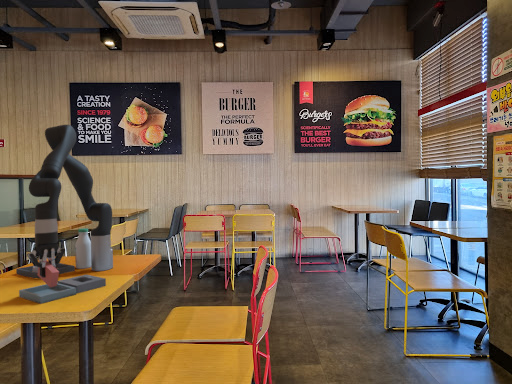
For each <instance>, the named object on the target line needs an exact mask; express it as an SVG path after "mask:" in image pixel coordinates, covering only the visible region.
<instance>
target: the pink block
mask: <svg viewBox="0 0 512 384" xmlns="http://www.w3.org/2000/svg"><path fill="white" fill-rule="evenodd" d="M57 269H58V268H55V267H54V266H53V265H51V264H50V263H49V262H48V259H47V260H46V265H45V278H43V277H41V276H40V268H39V269H38V274H37V275H38V276H39V277H40V278H39V279H40V280H42V281H43V282H44V284H47V285H48V286H49V287H54V286H57V283H58V281H59V275H60V274H59V271H58V270H57Z"/></svg>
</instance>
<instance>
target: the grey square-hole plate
mask: <svg viewBox="0 0 512 384" xmlns="http://www.w3.org/2000/svg"><path fill="white" fill-rule="evenodd" d="M106 279H107V278H104V277H100V276H95V275H91V274H83V275H79V276H78V275H77V276H72V277H69V278H65V279H61V280H58V282H57V283H59V284H63V285H67V286H71V287H75V288H76V294H80V293H85V292H87V291H91V290H94V289H95V290H96V289H100V288H103V287H106V286H107V284H106V283H107V282H106V281H107V280H106Z"/></svg>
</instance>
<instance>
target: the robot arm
mask: <svg viewBox="0 0 512 384" xmlns="http://www.w3.org/2000/svg"><path fill="white" fill-rule="evenodd" d="M44 137H45V140H46V142H47V143H48V146H49V147H50V149H51V151H50V153H48V155H46V157H45V158H44V160H43V163H42V164H41V168H40V169H39V171H38V172H37V173H36V174H35V175H34V176H33V177H32V178H31V180H30V182H29V183H28V191H29V194H30V195H31V196H32V197H35V198H48V199H47V201H46V202H41V203H38V204H36V205H35V207H34V213H35V214H34V215H35V216H34V217H35V218H34V220H35V221H34V244H35V246H34V248H33V250H32V251H31V252H27V253H26V256H27V257H28V259H29V261H30V262H31V264H32V266H33V265H34V266H36V267H39V268H40V276H41V277H43V278H45V265H46V260H47V261H48V262H49V263H50V264H51V265H53V266H55V265H56V264H57V263H60V262H61V260H62V258H63V256H64V254H65V253H66V249H65V248H62V247H60V246H59V237H58V236H59V235H58V234H59V233H58V230H59V226H58V219H57V218H58V217H57V214H58V213H57V207H58V202H59V198H60V196H61V191H62V183H61V181H60V180H59V178H60V177H61V173H62V170H63V169H64V171H65V173H66V176H67V178H68V179H69V181H70V183H71V185H72V186H73V188H74V191H75V192H76V194H77V197H78V199H79V200H80V203H81V205H82V207H83V211H84V212H85V213H84V214H85V215H86V217H87V219H88V220H90V221H91V222H98V224H97V226H96V227H95V228H92V229H91V230H90V241H91V267H90V269H91V271H95V272H103V271H107V270H111V269H113V268H114V254H113V253H114V252H113V251H114V250H113V248H112V239H111V237H112V236H111V233H112V228H113V209H112V206H111V204H110V203H107V202H96V200H95V199H94V197H93V194H92V191H93V186H94V179H93V177H92V174H91V172H90V170H89V168H88V167H87V166H86V165H85V164H84V163H83V162H81V161H80V160H78V159H77V158H75V157H73V156H72V155H71V154H70V153H71V151H72V149H73V148H74V146H75V144H76V143H77V132H76V130H75V128H74V127H73V126H72V125H71V124H60V125H57V126H52V127H48V128H45V131H44ZM55 254H56V255H55ZM37 257H38V259H37Z"/></svg>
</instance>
